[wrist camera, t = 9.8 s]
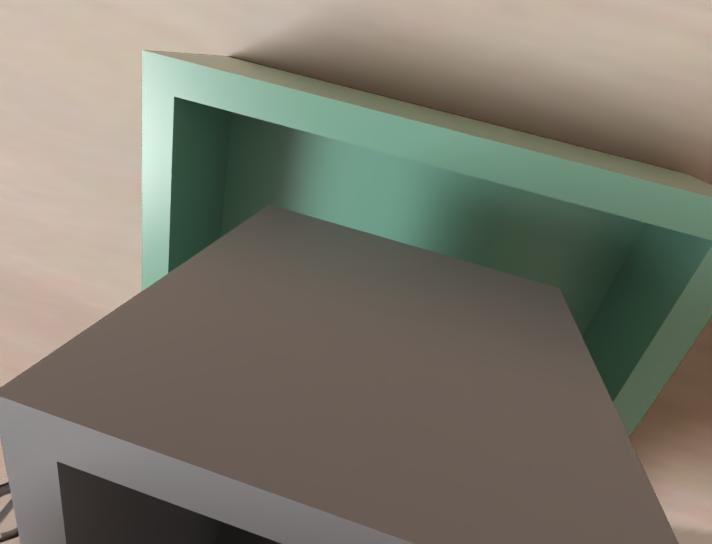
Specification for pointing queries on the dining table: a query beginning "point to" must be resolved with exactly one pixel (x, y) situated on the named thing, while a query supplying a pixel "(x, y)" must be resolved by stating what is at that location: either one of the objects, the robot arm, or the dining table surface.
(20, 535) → the small crate
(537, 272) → the big crate
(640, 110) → the dining table surface
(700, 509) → the dining table surface
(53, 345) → the dining table surface
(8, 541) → the robot arm
